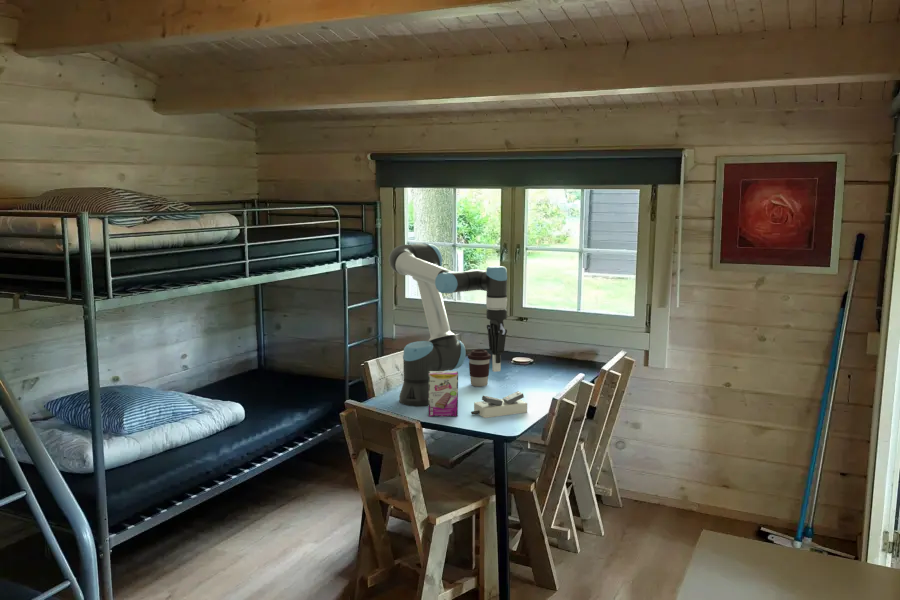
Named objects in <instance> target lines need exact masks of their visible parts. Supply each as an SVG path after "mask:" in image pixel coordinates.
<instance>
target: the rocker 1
mask: <svg viewBox="0 0 900 600" xmlns="http://www.w3.org/2000/svg"><path fill="white" fill-rule="evenodd" d="M500 399H501V398H497V397H492V396H489V395H482V396H481V400H482V401H485V402H488V403H493V404H498V405H502V402H503V401H502V400H500Z"/></svg>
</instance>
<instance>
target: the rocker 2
mask: <svg viewBox="0 0 900 600" xmlns="http://www.w3.org/2000/svg"><path fill="white" fill-rule="evenodd" d="M524 398H525V395H524V393H523V392H521V391H518V390H517V391H515V392H513V393H511V394H509V395H506V396H504V397H503V398H502V399H503V400H504V402H505V403H507V404H511V403H513V402H515V401H517V400H519V399H520V400H522V399H524Z"/></svg>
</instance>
